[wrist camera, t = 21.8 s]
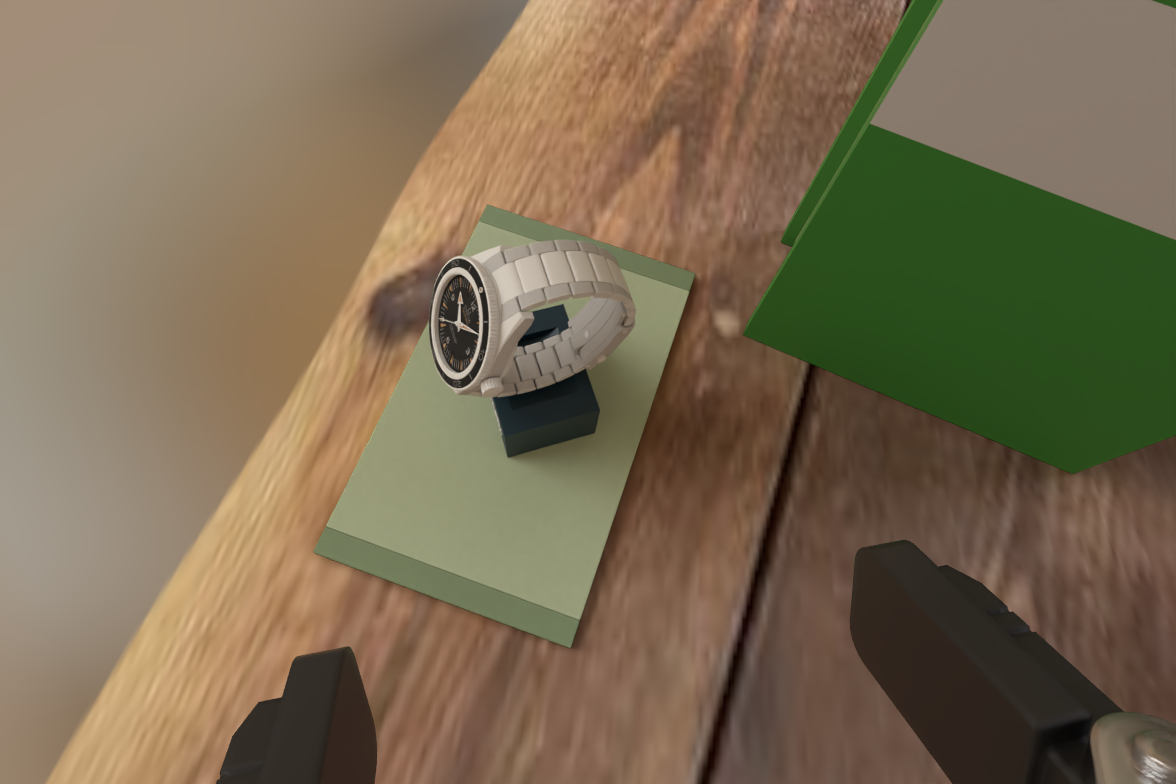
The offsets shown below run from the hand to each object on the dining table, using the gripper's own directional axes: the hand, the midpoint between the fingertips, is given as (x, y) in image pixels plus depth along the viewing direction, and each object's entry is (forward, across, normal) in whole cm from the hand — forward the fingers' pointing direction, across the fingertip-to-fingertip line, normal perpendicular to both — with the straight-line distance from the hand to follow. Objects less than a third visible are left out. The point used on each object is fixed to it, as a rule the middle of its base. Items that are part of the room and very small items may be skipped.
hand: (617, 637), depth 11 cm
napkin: (+23, 0, +6) cm, 24 cm away
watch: (+23, 0, +6) cm, 23 cm away
